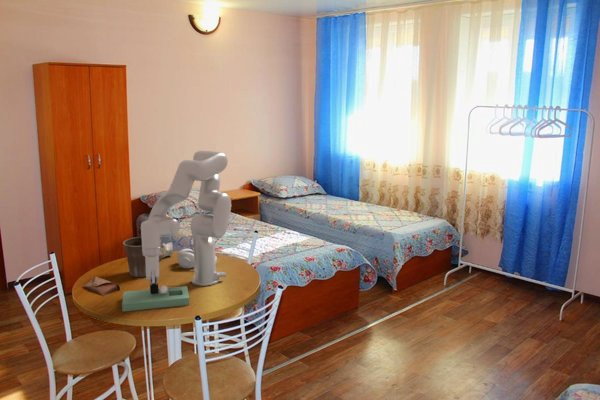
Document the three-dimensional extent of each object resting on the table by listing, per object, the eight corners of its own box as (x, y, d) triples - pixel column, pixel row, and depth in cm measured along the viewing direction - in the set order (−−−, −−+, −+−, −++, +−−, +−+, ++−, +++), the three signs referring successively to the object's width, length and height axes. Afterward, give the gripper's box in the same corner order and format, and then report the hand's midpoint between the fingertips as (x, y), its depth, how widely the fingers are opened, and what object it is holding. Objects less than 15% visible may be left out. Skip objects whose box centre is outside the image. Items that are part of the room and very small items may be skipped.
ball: (159, 283, 218) (157, 291, 219) (160, 286, 215) (158, 294, 216) (167, 285, 220) (165, 293, 220) (169, 287, 217) (167, 295, 217)
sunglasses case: (79, 287, 234) (85, 272, 235) (92, 290, 239) (98, 276, 241) (103, 296, 223) (109, 281, 225) (116, 299, 229) (122, 285, 230)
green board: (187, 292, 228) (186, 286, 227) (189, 304, 214) (189, 297, 214) (124, 298, 221) (123, 291, 220) (122, 311, 208) (121, 304, 207)
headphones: (177, 271, 254) (218, 273, 260) (178, 255, 253) (219, 258, 258) (175, 259, 271) (214, 261, 277) (177, 245, 270) (215, 247, 276)
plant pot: (154, 279, 244) (152, 246, 241) (120, 279, 244) (117, 245, 241) (164, 268, 260) (162, 236, 257) (131, 267, 260) (129, 236, 257)
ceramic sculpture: (177, 240, 277) (154, 248, 266) (179, 256, 279) (156, 264, 268) (165, 237, 283) (141, 245, 272) (166, 252, 285) (143, 260, 274)
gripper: (142, 246, 219) (145, 287, 223) (141, 256, 205) (144, 300, 209) (161, 244, 221) (163, 286, 225) (161, 255, 207) (164, 299, 211)
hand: (154, 293), depth 217 cm, fingers closed
